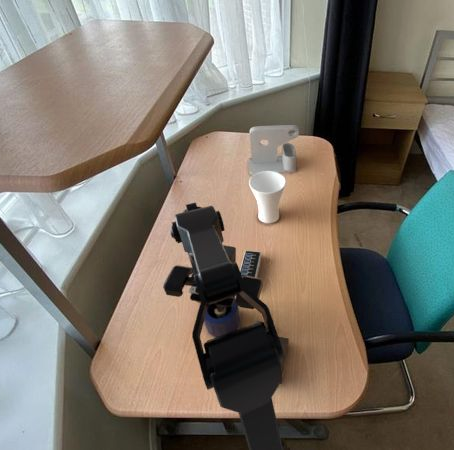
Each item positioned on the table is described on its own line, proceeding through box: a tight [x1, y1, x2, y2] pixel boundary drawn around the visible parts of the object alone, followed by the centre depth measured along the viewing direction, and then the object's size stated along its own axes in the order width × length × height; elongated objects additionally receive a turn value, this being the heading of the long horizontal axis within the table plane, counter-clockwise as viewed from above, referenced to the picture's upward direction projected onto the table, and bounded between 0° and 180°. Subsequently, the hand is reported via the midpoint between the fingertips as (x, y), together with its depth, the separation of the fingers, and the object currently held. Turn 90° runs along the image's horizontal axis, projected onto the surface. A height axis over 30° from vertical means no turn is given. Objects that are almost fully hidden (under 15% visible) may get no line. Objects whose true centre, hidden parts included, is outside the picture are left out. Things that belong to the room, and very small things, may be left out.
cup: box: [248, 171, 287, 224], centre depth 96 cm, size 10×10×14 cm
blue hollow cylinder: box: [203, 297, 241, 338], centre depth 73 cm, size 8×8×6 cm
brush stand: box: [279, 336, 290, 385], centre depth 68 cm, size 8×8×4 cm
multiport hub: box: [239, 250, 262, 278], centre depth 85 cm, size 4×11×2 cm, turn 176°
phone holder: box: [248, 124, 300, 176], centre depth 114 cm, size 17×10×18 cm, turn 100°
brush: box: [215, 302, 227, 319], centre depth 71 cm, size 2×2×10 cm
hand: (219, 308), depth 71 cm, fingers closed on brush, 1 cm apart
